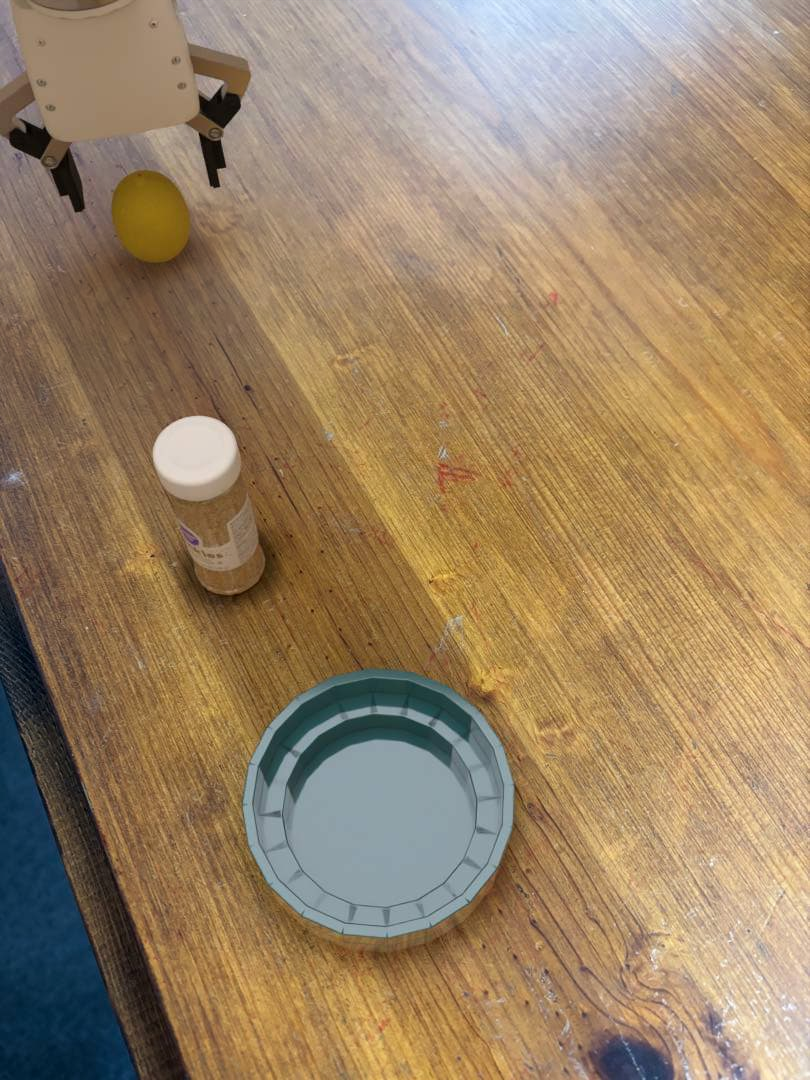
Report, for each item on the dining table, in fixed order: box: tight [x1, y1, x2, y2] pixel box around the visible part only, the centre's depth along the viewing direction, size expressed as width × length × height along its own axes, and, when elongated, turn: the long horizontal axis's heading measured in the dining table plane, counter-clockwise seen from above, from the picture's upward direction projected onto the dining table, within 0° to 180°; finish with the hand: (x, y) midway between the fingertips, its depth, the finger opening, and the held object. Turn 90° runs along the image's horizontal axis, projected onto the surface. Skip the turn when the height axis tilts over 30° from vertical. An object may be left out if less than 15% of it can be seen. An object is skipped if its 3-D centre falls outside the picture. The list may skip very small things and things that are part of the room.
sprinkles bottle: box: [152, 415, 266, 596], centre depth 62 cm, size 5×5×13 cm
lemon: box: [110, 169, 191, 264], centre depth 78 cm, size 6×6×8 cm
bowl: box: [241, 667, 516, 953], centre depth 58 cm, size 14×14×5 cm
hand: (146, 186), depth 76 cm, fingers open, 9 cm apart
